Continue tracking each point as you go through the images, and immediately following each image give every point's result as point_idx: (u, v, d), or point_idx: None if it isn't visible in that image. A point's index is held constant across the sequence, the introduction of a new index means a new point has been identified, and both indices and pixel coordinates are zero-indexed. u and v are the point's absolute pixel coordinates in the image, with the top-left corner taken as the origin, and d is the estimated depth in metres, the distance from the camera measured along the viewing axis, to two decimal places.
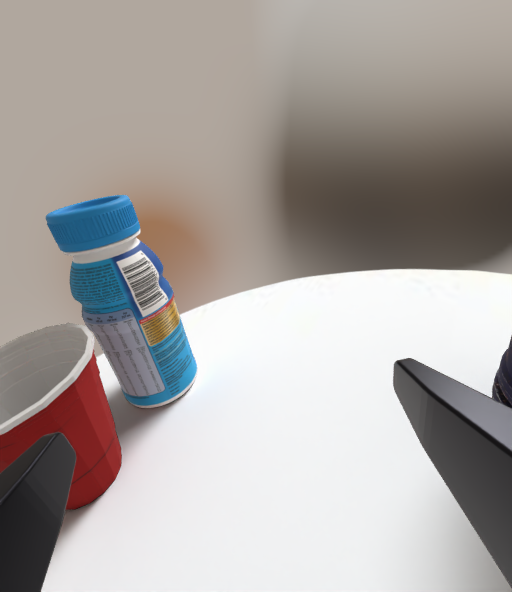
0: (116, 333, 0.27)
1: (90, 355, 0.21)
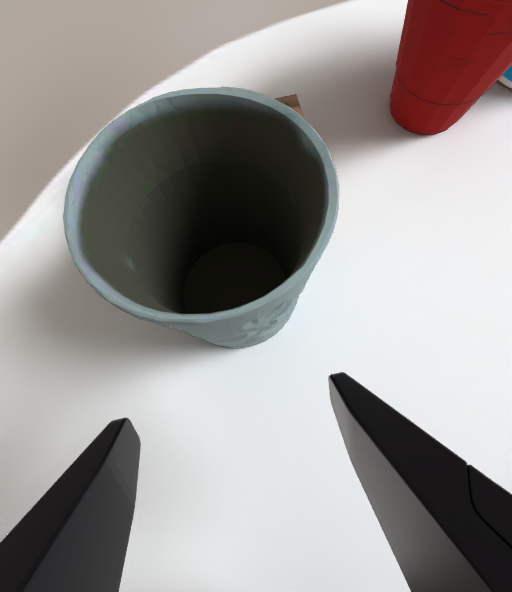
0: None
1: None
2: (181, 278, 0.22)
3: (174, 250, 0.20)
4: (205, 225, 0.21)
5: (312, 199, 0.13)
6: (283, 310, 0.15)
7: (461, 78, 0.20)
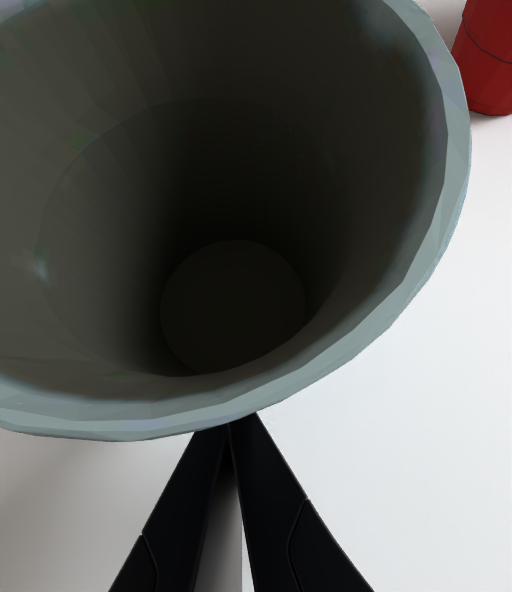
0: None
1: None
2: (156, 288, 0.16)
3: (143, 248, 0.14)
4: (190, 213, 0.14)
5: (381, 145, 0.06)
6: None
7: None
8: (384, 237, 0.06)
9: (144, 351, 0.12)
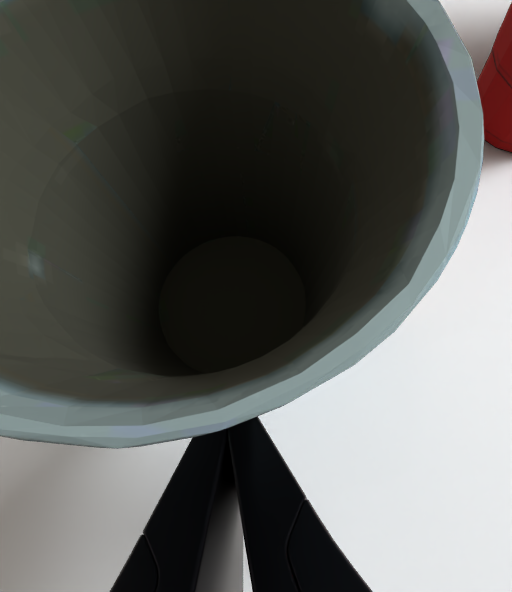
0: None
1: None
2: (155, 284, 0.16)
3: (142, 244, 0.13)
4: (189, 208, 0.14)
5: (387, 140, 0.06)
6: None
7: None
8: (389, 235, 0.05)
9: (141, 348, 0.11)
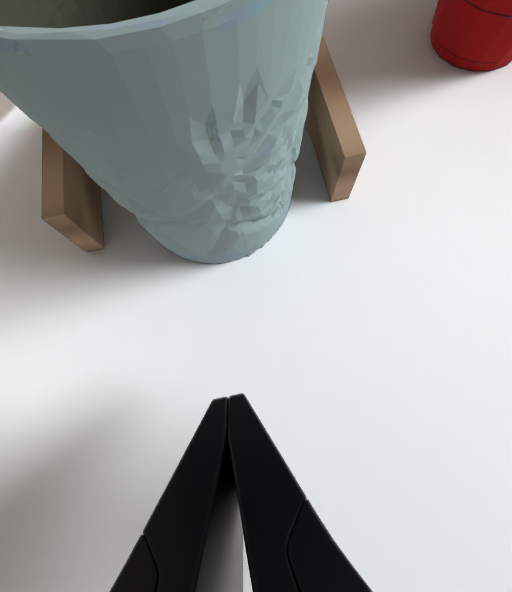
0: None
1: None
2: None
3: None
4: None
5: None
6: (264, 155, 0.10)
7: None
8: None
9: None
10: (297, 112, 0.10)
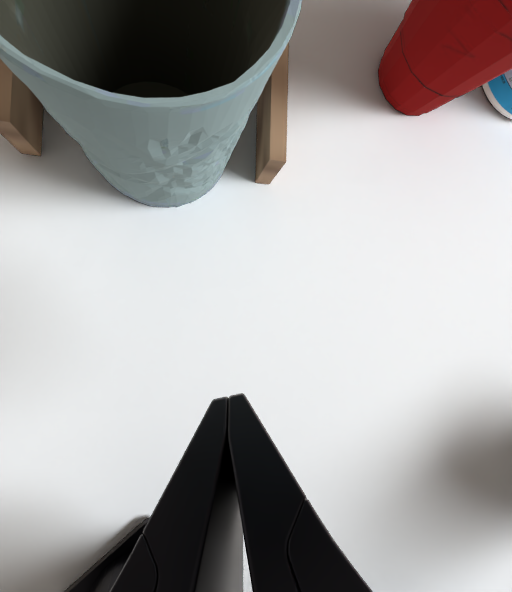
0: None
1: None
2: None
3: (91, 52, 0.16)
4: (139, 39, 0.17)
5: (268, 28, 0.11)
6: (201, 158, 0.13)
7: (454, 68, 0.19)
8: None
9: None
10: (233, 132, 0.14)
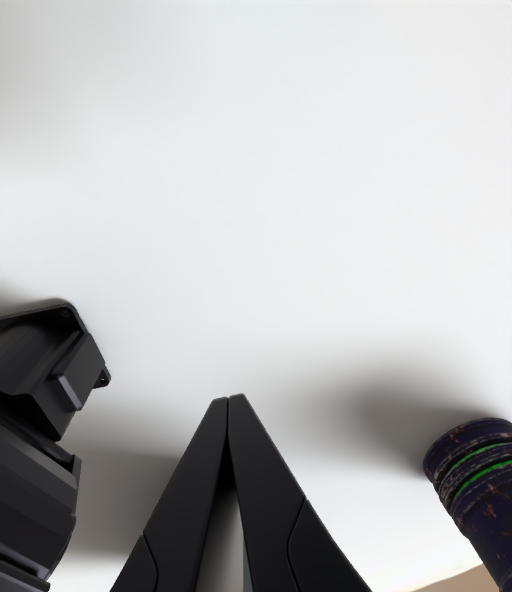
0: None
1: None
2: None
3: None
4: None
5: None
6: None
7: None
8: None
9: None
10: None
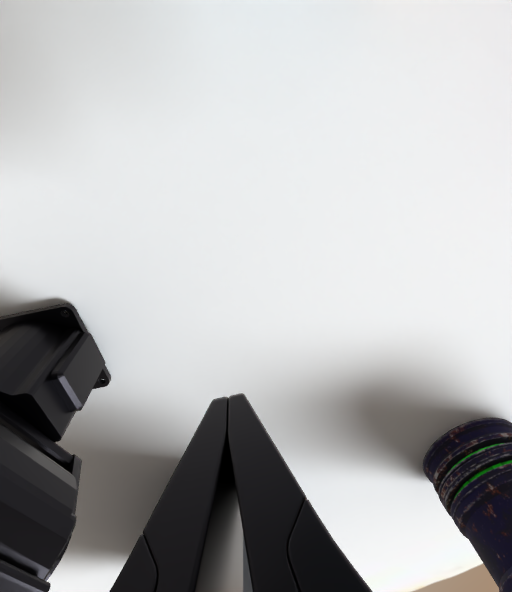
0: None
1: None
2: None
3: None
4: None
5: None
6: None
7: None
8: None
9: None
10: None
